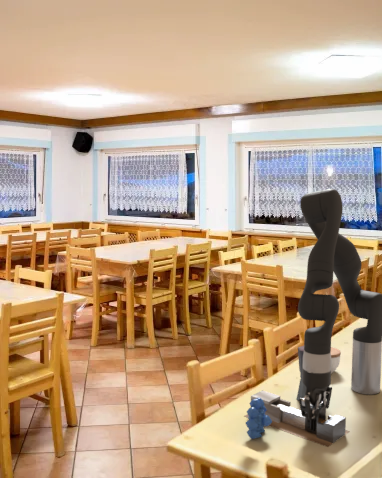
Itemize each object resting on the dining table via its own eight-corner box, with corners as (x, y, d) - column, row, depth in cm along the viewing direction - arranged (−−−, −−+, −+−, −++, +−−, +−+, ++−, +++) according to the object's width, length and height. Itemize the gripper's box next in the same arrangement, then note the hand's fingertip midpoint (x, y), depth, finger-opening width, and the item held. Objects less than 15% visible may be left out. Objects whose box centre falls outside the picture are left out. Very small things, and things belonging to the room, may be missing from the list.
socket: (329, 429, 150) (329, 412, 149) (345, 434, 147) (345, 417, 146) (316, 437, 145) (316, 420, 144) (332, 443, 142) (333, 425, 141)
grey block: (279, 414, 159) (280, 391, 158) (337, 434, 147) (337, 408, 146) (271, 418, 156) (272, 394, 155) (329, 439, 144) (330, 413, 143)
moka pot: (329, 397, 176) (330, 336, 174) (324, 416, 161) (326, 350, 159) (299, 393, 179) (300, 333, 177) (292, 411, 165) (293, 347, 162)
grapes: (265, 453, 139) (266, 408, 138) (240, 448, 142) (241, 403, 141) (277, 434, 150) (278, 392, 149) (253, 429, 153) (254, 388, 151)
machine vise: (267, 408, 167) (268, 387, 166) (349, 436, 149) (350, 413, 148) (243, 421, 158) (244, 398, 157) (327, 452, 140) (328, 427, 139)
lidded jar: (343, 369, 202) (344, 344, 201) (334, 378, 193) (335, 352, 192) (315, 364, 208) (316, 340, 207) (305, 372, 199) (306, 347, 198)
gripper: (317, 357, 155) (316, 416, 157) (290, 370, 144) (289, 432, 146) (342, 364, 150) (340, 423, 151) (315, 377, 139) (313, 441, 141)
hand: (315, 427), depth 149 cm, fingers closed on grey block, 4 cm apart
